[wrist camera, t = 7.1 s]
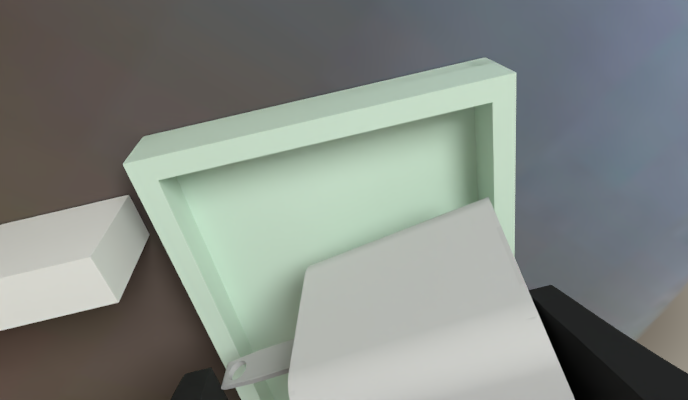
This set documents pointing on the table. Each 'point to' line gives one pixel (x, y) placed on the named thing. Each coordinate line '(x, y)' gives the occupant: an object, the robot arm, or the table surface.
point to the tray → (319, 190)
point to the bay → (68, 260)
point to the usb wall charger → (417, 321)
